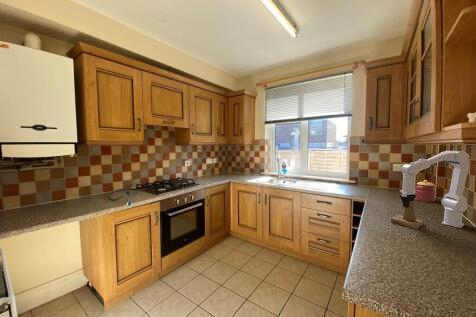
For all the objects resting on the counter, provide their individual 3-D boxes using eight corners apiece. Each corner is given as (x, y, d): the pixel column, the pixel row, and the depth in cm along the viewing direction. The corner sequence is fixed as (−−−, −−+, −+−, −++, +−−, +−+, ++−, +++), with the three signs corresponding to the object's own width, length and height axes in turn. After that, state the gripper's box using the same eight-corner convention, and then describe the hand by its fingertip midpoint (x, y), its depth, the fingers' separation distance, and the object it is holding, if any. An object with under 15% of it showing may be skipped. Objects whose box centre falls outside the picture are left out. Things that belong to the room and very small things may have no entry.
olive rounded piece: (402, 217, 124) (402, 199, 124) (415, 218, 120) (414, 200, 120) (403, 220, 119) (402, 201, 119) (416, 221, 115) (415, 202, 115)
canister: (437, 203, 160) (438, 181, 159) (416, 201, 167) (417, 180, 166) (432, 199, 171) (433, 179, 170) (412, 197, 178) (413, 178, 177)
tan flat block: (398, 218, 129) (398, 214, 129) (422, 224, 119) (423, 220, 119) (390, 222, 122) (391, 218, 122) (416, 229, 112) (416, 224, 112)
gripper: (404, 182, 126) (403, 203, 127) (396, 184, 118) (394, 207, 119) (419, 183, 120) (418, 205, 121) (411, 186, 112) (409, 210, 113)
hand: (407, 206), depth 120 cm, fingers closed on olive rounded piece, 5 cm apart
